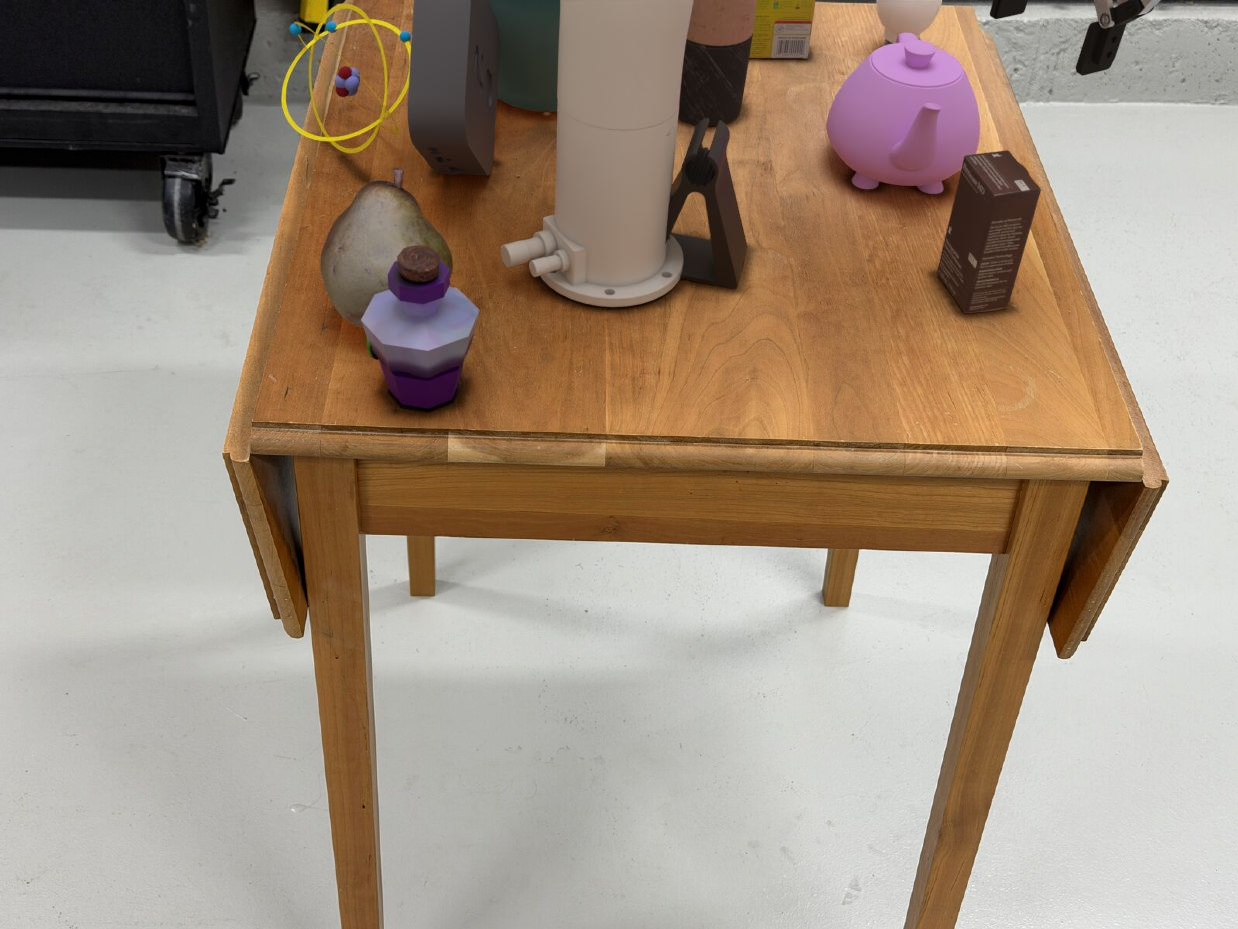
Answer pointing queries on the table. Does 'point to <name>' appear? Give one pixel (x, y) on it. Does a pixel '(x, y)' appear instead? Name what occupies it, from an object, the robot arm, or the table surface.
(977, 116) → the teapot
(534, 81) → the flower pot
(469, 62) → the streaming box
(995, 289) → the box
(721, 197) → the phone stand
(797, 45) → the crayon box
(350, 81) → the atom model
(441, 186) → the table surface
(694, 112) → the travel mug
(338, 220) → the fruit
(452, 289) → the potion bottle
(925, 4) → the light bulb
